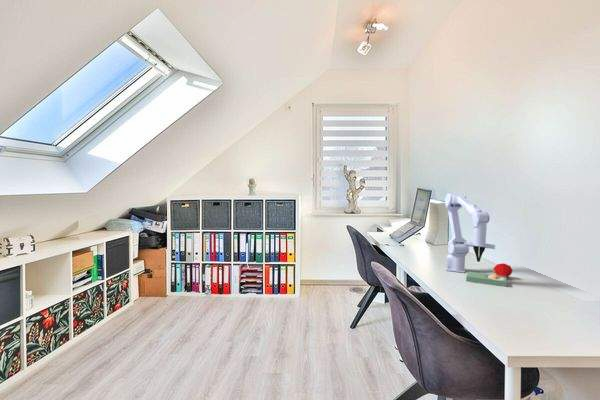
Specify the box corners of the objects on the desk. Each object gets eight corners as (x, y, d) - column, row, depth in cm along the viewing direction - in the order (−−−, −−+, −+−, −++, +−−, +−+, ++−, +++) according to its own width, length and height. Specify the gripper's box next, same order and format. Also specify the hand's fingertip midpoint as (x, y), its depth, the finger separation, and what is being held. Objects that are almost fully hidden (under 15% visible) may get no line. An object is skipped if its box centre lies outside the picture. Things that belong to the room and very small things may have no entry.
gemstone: (517, 280, 185) (516, 267, 193) (501, 271, 186) (500, 259, 194) (506, 290, 190) (505, 278, 198) (490, 281, 192) (490, 269, 199)
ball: (499, 278, 182) (494, 284, 184) (500, 277, 185) (495, 283, 187) (492, 273, 184) (487, 279, 186) (493, 272, 187) (488, 277, 189)
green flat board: (466, 281, 187) (466, 276, 186) (467, 276, 196) (468, 271, 196) (506, 286, 178) (506, 281, 178) (506, 281, 188) (506, 276, 187)
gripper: (463, 235, 187) (462, 261, 188) (495, 237, 180) (494, 264, 181) (464, 233, 193) (463, 258, 194) (495, 235, 187) (494, 261, 188)
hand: (478, 261), depth 188 cm, fingers closed
